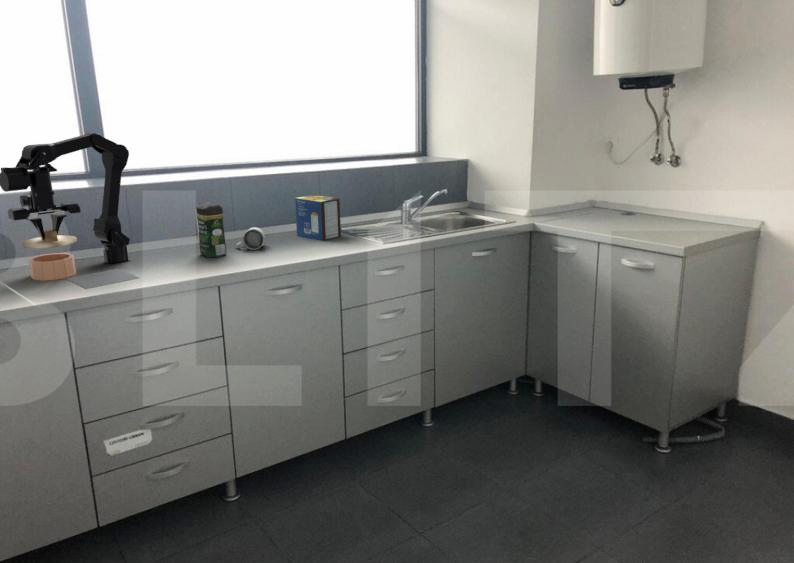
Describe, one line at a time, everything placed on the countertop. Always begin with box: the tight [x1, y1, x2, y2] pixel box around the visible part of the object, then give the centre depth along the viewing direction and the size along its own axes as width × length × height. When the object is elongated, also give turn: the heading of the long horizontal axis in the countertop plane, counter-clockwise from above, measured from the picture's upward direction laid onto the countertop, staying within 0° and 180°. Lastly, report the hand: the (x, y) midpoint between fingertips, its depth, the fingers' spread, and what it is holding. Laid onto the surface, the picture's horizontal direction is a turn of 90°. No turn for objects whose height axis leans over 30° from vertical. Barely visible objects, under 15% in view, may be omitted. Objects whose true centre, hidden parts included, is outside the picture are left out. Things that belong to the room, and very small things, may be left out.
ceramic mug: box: [235, 226, 266, 251], centre depth 233 cm, size 11×8×8 cm
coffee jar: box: [195, 201, 227, 258], centre depth 221 cm, size 10×8×19 cm
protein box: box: [294, 194, 342, 241], centre depth 251 cm, size 10×15×16 cm
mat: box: [65, 268, 140, 290], centre depth 193 cm, size 16×16×1 cm
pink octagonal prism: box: [28, 252, 77, 282], centre depth 196 cm, size 12×12×6 cm
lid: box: [21, 228, 78, 250], centre depth 193 cm, size 15×15×4 cm
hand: (49, 238), depth 193 cm, fingers closed on lid, 3 cm apart
